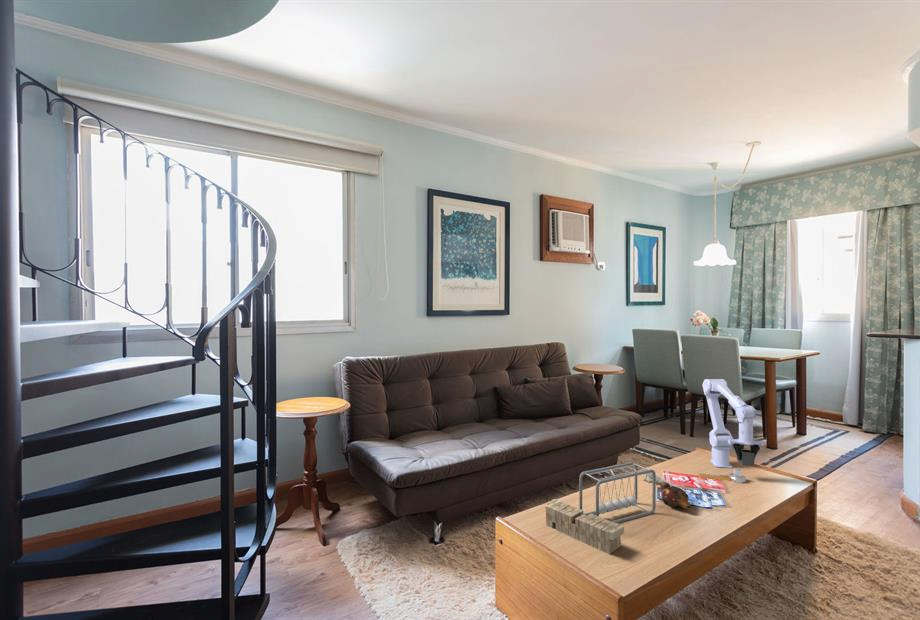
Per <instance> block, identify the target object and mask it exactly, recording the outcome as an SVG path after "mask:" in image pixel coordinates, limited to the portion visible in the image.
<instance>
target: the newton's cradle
mask: <svg viewBox="0 0 920 620" xmlns="http://www.w3.org/2000/svg"><path fill="white" fill-rule="evenodd" d="M631 467H634V468H632V470H633V471H631V472H629V470H627V472H626V473H622V472H618V471H617V470H621V471H622V470H623V471H624V468H625V469H626V468H631ZM638 467H639V468H642V469H640V470H638ZM610 471H611V472H612V471H613V474H615V473H614V472H618V474H615V475H611V476H608V475H607V474H605V477H603V478H600V476H599V475H600V474H601V473H604V472H605V473H607V472H610ZM646 473H652V474H653V479H652V499H651V500H652V503H651V505H652V508H651V510H648V509H646V508H644V507H642V506H641V505H639V504H638V476H641V475H644V474H646ZM595 474H597V475H598V478H596V477H594V476H592V475H595ZM585 475H586V476H589V477H590V478H592V479H593V480H596V481H597V483H595V484H596V485H595V510H592V511H589V512H588V511H587V512H585V513H584V512H583V514H584V515H589V514H591V513H592V514H594V515H596V516H599V517H600V514H601V515H603V514H605V513H607V511H608V512H610V513H612V512H614V511H615V510H618V511H619V510H622V508H624V509H627V508H629V507H630V506H631V507H635V506H637V507H639V508H640V509H643V511H644V510H645V511H646V512H642V513H638V514H634V515H630V516H626V517H623V518H619V519H618V518H617V519H615V520H610V521H611V522H614V523H618V524H620V523H624V522H627V521H630V520H635V519H638V518H641V517H645V516H649V515H652V514H654V513H655V511H656V499H657V498H656V493H657V492H656V488H657V487H656V485H657V484H656V483H657V482H656V475H657V474H656V472H655V470H654V469H648V468H647V467H644V466H641V465H639V464H637V463H636V462H635V461H631V462H626V463H625V462H624V463H621V464H619V463H618V464H615V465H610V466H607V467H599V468H595V469H591V470H585V471H582V472H581V473H580V474H579V479H578V480H579V483H578V484H579V485H578V486H579V487H578V489H579V501H578V502H579V503H578V506H579V508H578V509H581V510H583V477H584V476H585ZM632 477H634V488H633V489H634V491H633V494H632V492H630V496H628V497H626V496H627V494H628V491H626V492H625V490H624V488H621V487H622V485H624V482H623V479H626V478H627V479H628V481H627V483H630V482H631V480H630V478H632ZM618 480H621V481H620V483H621V484H620V486H619V489H622V491H623V493H626V494H625V495H623V497H622V498H621V499H620V497H618V496H620V493H621V491H619V493H618V492H615V493H616V494H615V495H616V497H617V498H616V499H614V500H613V496H611V498H610V497H608V499H609V500H608V501H606V503H604V502H603V501H604V499H605V497H603V499H602V501H600V497H602V495H601V493H602V492H601V491H600V488H601V484H606V485H605V487H604V490H606V487H609V484H608V483H609V482H616V481H618ZM614 486H615V489H617V486H616V484H615V483H613V485H612V488H614ZM628 486H630V487H628ZM628 488H630V490H632V486H631V485H627V487H626V490H628ZM607 492H608V495H610V493H609V489H607ZM613 492H614V489H612V492H611V494H614V493H613ZM617 493H618V495H617ZM605 494H606V491H604V494H603V496H605ZM612 500H613V501H612Z"/></svg>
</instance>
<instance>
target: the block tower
mask: <svg viewBox="0 0 920 620" xmlns="http://www.w3.org/2000/svg"><path fill="white" fill-rule="evenodd" d="M611 521H612V520H608V519H605V518H604V517H602V516H600V515H599V516H596V514H592V513H591V514H589V515H584V510H583V509H582V510H581V509H579V508H578V507H575V506H572V505H570V504H568V503H566V502H563V501H560V500H558V499H556V498H554V499H551V501H548V502H546V506H545V526H547V527H549V528H552V529H553V528H555V530H556V531H558V532H560V533H562V534H564V535H567V536H568V537H570V538H572V539H574V540H577V541H578V542H581V543H584V544H585V545H588V546H590V547H592V548H594V549H595V550H599V551H601V552H603V553H606V554H607V555H610V554H612V553H613V552H614V551H616V550H617V549H619V548H620V547H622V540H621V539H622V537H621V536H622V535H623V534H625V526H624V525H622V524H620V523H614V522H611Z"/></svg>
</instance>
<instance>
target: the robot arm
mask: <svg viewBox="0 0 920 620" xmlns="http://www.w3.org/2000/svg"><path fill="white" fill-rule="evenodd" d="M701 387H702V389H703V390H702V391H703V393H704V396H705V397H706V401H707V406H708V410H709V415H710V419H711V424H712V428H713V429H711V430H710V432H709V433H708V434H709V443H710V445H711V446H712V447H711V459H709V462H710V463H711V464H712V465H713V466H714V467H715V468H727V469H728V468H729V469H730V468H731V469H733V468H734V467H733V465H731V463H730V457H731V455H730V453H731V452H730V450H732V448H733V449H734V452H735V454H736V459H737V461H738V460H741V449H743V448H742V446H743V445H744V446H749V450H751V451H752V452H753V453H754V461H755V459H756V457H757V454H758V452H759V451H760V450H761V447H764V446H765V445H764V441H762V440H756V439H755V440H754V419H756V416H757V411H756V408H754V406H753V405H749V404H747V403H746V402H745V401H744V400H743V399H742V398H741V397H740V396H738V395H735V394H734V393H733V392H732V390H731V389H730V388H729V387H728V382H727V381H726V380H725V379H723V378H719V379H718V378H715V379H714V378H713V379H711V378H710V379H708V378H705V379H704V380H703V382H702V386H701ZM721 395H722V396H724V397H725V398H726V399H727V401H728V404H729V406H731V408H732V409H733V410H734V411H735V415H736V417H737V422H738V438H735V439H734V437H733V436H732V434H731V431H730V430H728V429H727V428H725V427H726V426H725V423H724V419H723V413H722V411H721V406H720V402H719V397H721Z"/></svg>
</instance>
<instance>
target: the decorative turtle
mask: <svg viewBox="0 0 920 620" xmlns="http://www.w3.org/2000/svg"><path fill="white" fill-rule="evenodd" d="M659 487H660V491H661V493H660V495H661V499H662V502H663V504H665V505H667V504H668V505H669V507H670V508H671V509H672V510H673V509H676V507H677V506H678V507H679V506H680V507H681V508H683V509H684V510H690V509H691V508H692V504H691V503H690V502H689V500H690V499H689V495H688V494H686V492H685V491H683V490H682V489H683V488H682V489H680V488H681V487H680V488H678V487H679V486H678V487H675V486H670V485H669V483H667V482H662V483H661V482H660V486H659Z"/></svg>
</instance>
